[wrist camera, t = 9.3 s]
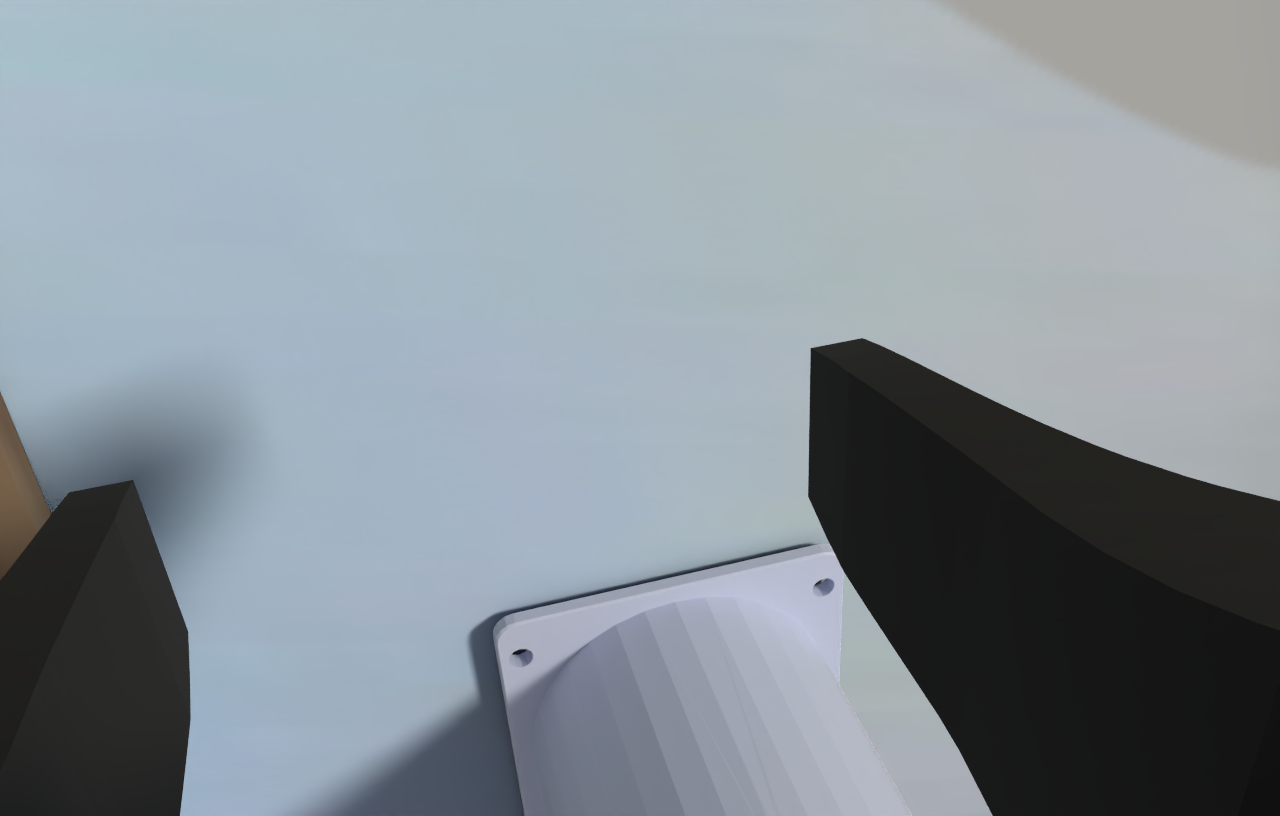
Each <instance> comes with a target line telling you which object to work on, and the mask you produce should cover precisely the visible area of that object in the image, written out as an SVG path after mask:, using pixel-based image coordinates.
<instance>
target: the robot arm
mask: <svg viewBox="0 0 1280 816" xmlns="http://www.w3.org/2000/svg"><path fill="white" fill-rule="evenodd" d="M808 497H809V499H810V501H811V503H812V506H813V508H814V510H815V512H816V515H817V517H818V519H819V521H820V523H821V526H822V528H823V530H824V532H825V535H826V537H827V539H828V541H829V543H830V545H829V544H817V545H813V546H808V547H804V548H799V549H795V550H790V551H786V552H782V553H777V554H773V555H768V556H764V557H760V558H755V559H751V560H746V561H742V562H737V563H733V564H729V565H724V566H720V567H715V568H711V569H707V570H702V571H698V572H693V573H689V574H684V575H680V576H676V577H671V578H667V579H662V580H658V581H654V582H649V583H645V584H640V585H636V586H632V587H627V588H623V589H618V590H614V591H609V592H605V593H601V594H596V595H592V596H587V597H583V598H579V599H574V600H570V601H565V602H561V603H556V604H552V605H548V606H543V607H539V608H534V609H530V610H526V611H521V612H517V613H513V614H510V615H507V616H505V617H503V618H502V619H501V620H500V621H498V622H497V624H496V625H495V627H494V629H493V639H494V645H495V651H496V656H497V662H498V668H499V673H500V679H501V685H502V691H503V696H504V702H505V708H506V713H507V719H508V725H509V730H510V736H511V742H512V748H513V753H514V759H515V765H516V770H517V776H518V782H519V787H520V793H521V799H522V805H523V810H524V816H913V815H912V814H911V812H910V810H909V808H908V806H907V805H906V803H905V801H904V799H903V798H902V796H901V794H900V792H899V790H898V789H897V787H896V785H895V783H894V781H893V780H892V778H891V776H890V774H889V773H888V771H887V769H886V767H885V765H884V764H883V762H882V760H881V758H880V756H879V755H878V753H877V751H876V749H875V748H874V746H873V744H872V742H871V740H870V739H869V737H868V735H867V733H866V731H865V730H864V728H863V726H862V724H861V722H860V721H859V719H858V717H857V715H856V714H855V712H854V710H853V708H852V706H851V705H850V703H849V701H848V699H847V697H846V696H845V694H844V692H843V690H842V689H841V687H840V685H839V677H840V651H841V625H842V599H843V574H844V572H845V574H846V576H847V577H848V579H849V580H850V582H851V583H852V585H853V587H854V588H855V590H856V591H857V593H858V594H859V596H860V597H861V599H862V600H863V602H864V604H865V605H866V607H867V608H868V610H869V611H870V613H871V614H872V616H873V617H874V619H875V620H876V622H877V623H878V625H879V626H880V628H881V629H882V631H883V632H884V634H885V636H886V637H887V639H888V640H889V642H890V643H891V645H892V646H893V648H894V649H895V651H896V652H897V654H898V655H899V657H900V658H901V660H902V661H903V663H904V664H905V666H906V667H907V669H908V670H909V672H910V673H911V675H912V676H913V678H914V679H915V681H916V682H917V684H918V685H919V687H920V688H921V690H922V691H923V693H924V694H925V696H926V697H927V699H928V700H929V702H930V703H931V705H932V706H933V708H934V709H935V711H936V712H937V714H938V715H939V717H940V719H941V720H942V722H943V724H944V725H945V727H946V729H947V730H948V732H949V734H950V735H951V737H952V739H953V740H954V742H955V744H956V746H957V747H958V749H959V751H960V753H961V755H962V756H963V758H964V760H965V762H966V764H967V766H968V768H969V770H970V772H971V774H972V776H973V778H974V780H975V782H976V784H977V786H978V788H979V790H980V792H981V794H982V795H983V797H984V799H985V801H986V803H987V805H988V807H989V809H990V811H991V813H992V815H993V816H1280V501H1277V500H1273V499H1269V498H1265V497H1261V496H1257V495H1253V494H1249V493H1245V492H1241V491H1237V490H1233V489H1229V488H1225V487H1221V486H1217V485H1214V484H1210V483H1207V482H1203V481H1200V480H1196V479H1193V478H1189V477H1186V476H1183V475H1180V474H1177V473H1174V472H1171V471H1168V470H1165V469H1162V468H1159V467H1156V466H1153V465H1150V464H1146V463H1143V462H1140V461H1137V460H1134V459H1131V458H1128V457H1125V456H1123V455H1120V454H1117V453H1115V452H1112V451H1109V450H1106V449H1104V448H1101V447H1099V446H1096V445H1093V444H1091V443H1089V442H1086V441H1084V440H1081V439H1079V438H1076V437H1074V436H1072V435H1069V434H1067V433H1064V432H1062V431H1060V430H1057V429H1055V428H1052V427H1050V426H1048V425H1045V424H1043V423H1041V422H1038V421H1036V420H1034V419H1032V418H1030V417H1027V416H1025V415H1023V414H1021V413H1018V412H1016V411H1014V410H1012V409H1010V408H1008V407H1006V406H1003V405H1001V404H999V403H997V402H995V401H993V400H991V399H989V398H987V397H985V396H982V395H980V394H978V393H976V392H974V391H972V390H970V389H968V388H966V387H964V386H962V385H960V384H958V383H956V382H954V381H952V380H950V379H948V378H946V377H944V376H942V375H940V374H938V373H936V372H934V371H932V370H930V369H928V368H926V367H924V366H922V365H920V364H918V363H916V362H914V361H912V360H910V359H908V358H906V357H904V356H902V355H899V354H897V353H895V352H893V351H891V350H889V349H887V348H885V347H882V346H880V345H878V344H875V343H873V342H870V341H868V340H866V339H863V338H861V339H856V340H851V341H846V342H841V343H836V344H830V345H825V346H820V347H815V348H811V370H810V428H809V486H808ZM825 578H826V580H825V581H824V582H823V583H821V584H819V585H815V584H816V583H817V582H818V581H819V580H822V579H825ZM519 649H527V651H526V652H524V653H522V654H520V655H512V653H513V652H514V651H517V650H519ZM189 728H190V671H189V644H188V630H187V628H186V625H185V622H184V619H183V617H182V614H181V611H180V608H179V606H178V603H177V600H176V597H175V594H174V592H173V589H172V586H171V583H170V581H169V578H168V575H167V572H166V570H165V567H164V564H163V561H162V559H161V556H160V553H159V550H158V548H157V545H156V542H155V539H154V536H153V534H152V531H151V528H150V525H149V523H148V520H147V517H146V514H145V512H144V509H143V506H142V503H141V501H140V498H139V495H138V492H137V490H136V487H135V484H134V481H133V480H131V481H126V482H121V483H116V484H111V485H106V486H100V487H95V488H90V489H85V490H80V491H75V492H70V493H68V495H67V496H66V497H65V498H64V499H63V501H62V502H61V503H60V504H59V506H58V507H57V508H56V509H55V511H54V512H53V513H52V514H51V516H50V517H49V518H48V520H47V521H46V522H45V523H44V525H43V526H42V527H41V529H40V530H39V531H38V533H37V534H36V535H35V537H34V538H33V539H32V540H31V542H30V543H29V544H28V546H27V547H26V548H25V549H24V551H23V552H22V553H21V555H20V556H19V557H18V559H17V560H16V561H15V562H14V564H13V565H12V566H11V568H10V569H9V570H8V571H7V573H6V574H5V575H4V576H3V578H2V579H1V580H0V816H180V809H181V800H182V792H183V783H184V774H185V765H186V756H187V747H188V738H189Z"/></svg>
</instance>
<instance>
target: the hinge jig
mask: <svg viewBox="0 0 1280 816" xmlns="http://www.w3.org/2000/svg"><path fill="white" fill-rule="evenodd" d="M50 516H51V513H50V510H49V508H48V505H47V503H46V501H45V498H44V496H43V493H42V491H41V489H40V486H39V484H38V481H37V479H36V477H35V474H34V472H33V469H32V467H31V465H30V462H29V460H28V457H27V455H26V453H25V450H24V448H23V445H22V443H21V441H20V438H19V436H18V433H17V431H16V429H15V426H14V424H13V421H12V419H11V417H10V414H9V412H8V409H7V407H6V405H5V402H4V400H3V397H2V395H1V393H0V580H1V579H2V578H3V576H4V575H5V574H6V573H7V571H8V570H9V569H10V568H11V566H12V565H13V564H14V562H15V561H16V560H17V559H18V557H19V556H20V555H21V553H22V552H23V551H24V549H25V548H26V547H27V546H28V544H29V543H30V542H31V540H32V539H33V538H34V537H35V535H36V534H37V533H38V531H39V530H40V529H41V527H42V526H43V525H44V523H45V522H46V521H47V520H48V518H49V517H50Z"/></svg>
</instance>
